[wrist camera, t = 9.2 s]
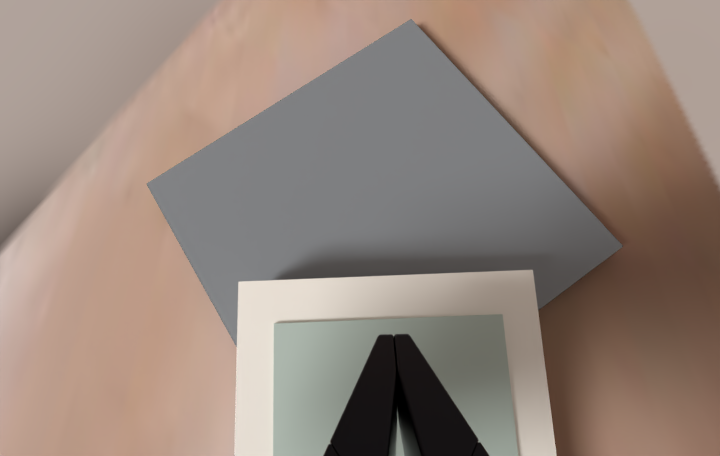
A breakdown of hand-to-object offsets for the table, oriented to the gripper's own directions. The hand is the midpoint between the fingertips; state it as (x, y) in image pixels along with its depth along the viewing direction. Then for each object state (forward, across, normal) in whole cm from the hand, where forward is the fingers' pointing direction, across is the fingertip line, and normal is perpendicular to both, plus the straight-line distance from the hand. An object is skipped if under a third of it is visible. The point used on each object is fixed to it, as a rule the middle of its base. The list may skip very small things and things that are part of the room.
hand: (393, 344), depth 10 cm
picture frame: (+6, 0, +2) cm, 6 cm away
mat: (+10, +1, +1) cm, 10 cm away
